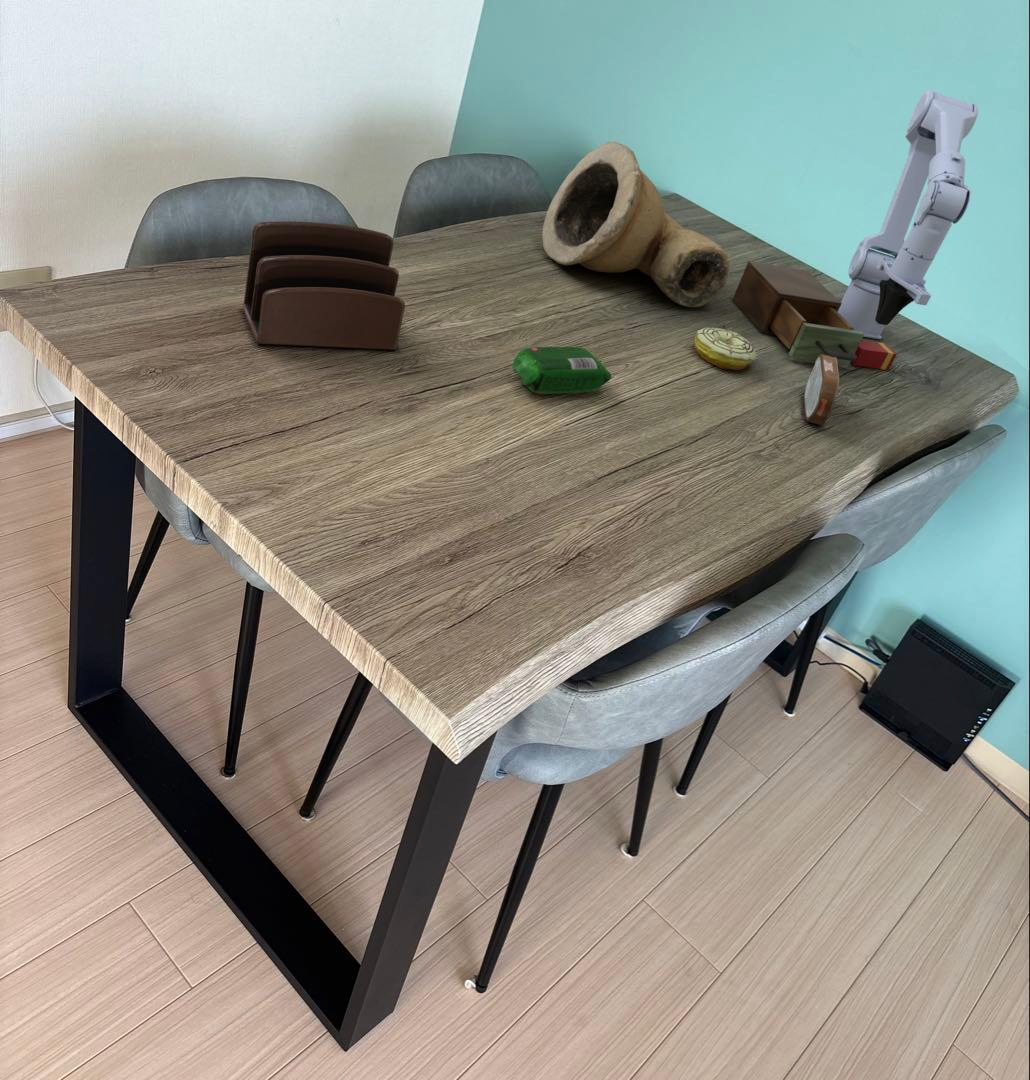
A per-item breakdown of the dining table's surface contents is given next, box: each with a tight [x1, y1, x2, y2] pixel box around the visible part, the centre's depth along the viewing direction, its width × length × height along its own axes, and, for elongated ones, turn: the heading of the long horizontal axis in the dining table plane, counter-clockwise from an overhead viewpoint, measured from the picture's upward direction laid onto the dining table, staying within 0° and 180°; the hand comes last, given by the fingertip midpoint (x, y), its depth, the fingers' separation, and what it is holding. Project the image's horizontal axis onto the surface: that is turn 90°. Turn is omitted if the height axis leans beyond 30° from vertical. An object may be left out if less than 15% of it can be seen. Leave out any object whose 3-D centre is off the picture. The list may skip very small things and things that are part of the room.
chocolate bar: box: [850, 339, 898, 371], centre depth 189 cm, size 8×4×3 cm, turn 105°
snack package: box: [511, 346, 612, 395], centre depth 148 cm, size 7×16×5 cm, turn 118°
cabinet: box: [731, 260, 842, 337], centre depth 193 cm, size 14×14×8 cm
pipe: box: [541, 141, 731, 308], centre depth 190 cm, size 23×29×30 cm
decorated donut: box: [694, 327, 757, 371], centre depth 173 cm, size 10×11×4 cm
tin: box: [803, 354, 840, 427], centre depth 164 cm, size 15×3×8 cm, turn 168°
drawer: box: [769, 298, 864, 366], centre depth 183 cm, size 17×12×6 cm
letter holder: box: [242, 220, 406, 351], centre depth 140 cm, size 10×20×14 cm, turn 113°
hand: (881, 322), depth 184 cm, fingers closed
